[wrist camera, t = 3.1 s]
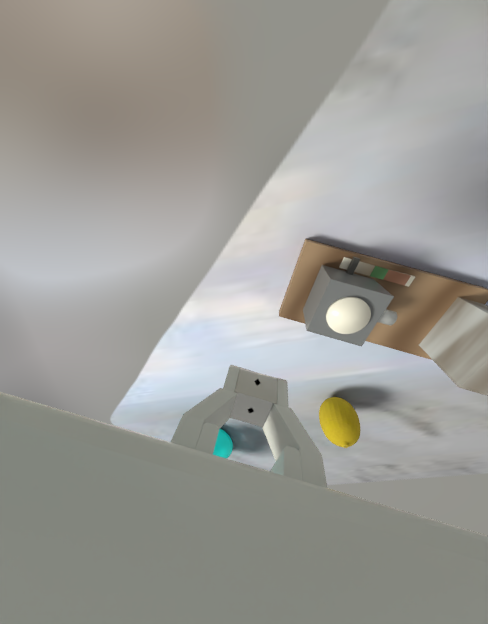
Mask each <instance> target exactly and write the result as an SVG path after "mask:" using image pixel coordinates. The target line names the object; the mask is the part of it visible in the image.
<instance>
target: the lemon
mask: <svg viewBox="0 0 488 624" xmlns="http://www.w3.org/2000/svg"><path fill="white" fill-rule="evenodd" d="M319 419H320V424H321V427H322V430H323V432H324V434H325V435H326V437H327V438H328V439H329V440H330V441H331V442H332V443H334V444H335V445H337V446H340V447H344V448H347V447H350V446H352V445H354V444H355V443H356V442H357V440H358V439H359V436H360V423H359V418H358V415H357V413H356V411H355V410H354V408H353V407H352V405H351V404H350V403H348V402H347V401H346V400H344V399H342V398H338V397H331V398H328V399H326V400H325V401H324V402H323V403H322V405H321V407H320V410H319Z"/></svg>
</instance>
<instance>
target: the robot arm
mask: <svg viewBox="0 0 488 624" xmlns="http://www.w3.org/2000/svg"><path fill="white" fill-rule="evenodd" d="M229 418H232V419H236V420H240V421H244V422H248V423H251V424H254V425H257V426H260V427H263V430H264V433H265V435H266V438H267V440H268V443H269V445H270V448H271V450H272V453H273V455H274V458H275V460H276V462H275V464H274V466H273V467H272V469H271V471H267V470H263V469H260V468H256V467H253V466H250V465H246V464H243V463H240V462H236V461H233V460H229V459H226V458H223V457H219V456H216V455H213V452H214V448H215V444H216V440H217V436H218V432H219V429H220V428H221V427H222V426H223V425H224V424H225V423H226V422H227V421H228V420H229ZM0 624H488V536H487V535H484V534H481V533H477V532H474V531H470V530H467V529H464V528H460V527H457V526H453V525H450V524H447V523H443V522H440V521H437V520H433V519H430V518H426V517H423V516H419V515H416V514H413V513H409V512H405V511H403V510H399V509H396V508H392V507H389V506H386V505H382V504H379V503H375V502H372V501H368V500H365V499H362V498H358V497H355V496H351V495H348V494H345V493H341V492H338V491H335V490H331V489H328V488H327V483H326V477H325V471H324V465H323V459H322V455H321V453H320V452H319V450H318V448H317V447H316V445H315V444H314V442H313V441H312V439H311V438H310V436H309V435H308V433H307V432H306V430H305V429H304V427H303V426H302V424H301V423H300V421H299V419H298V418H297V416H296V415H295V413H294V412H293V410H292V409H291V408H288V387H287V381H286V380H283V379H279V378H275V377H272V376H268V375H264V374H261V373H257V372H254V371H250V370H247V369H244V368H241V367H237V366H234V365H230V367H229V371H228V374H227V377H226V381H225V384H224V387H223V389H222V388H220V389H218V390H217V391H215V392H214V393H213V394H211V395H210V396H208V397H207V398H206V399H204V400H203V401H201V402H200V403H199V404H197V405H196V406H194V407H193V408H192V409H190V410H189V411H187V412H186V413H185V414H183V416H182V418H181V420H180V423H179V425H178V427H177V429H176V431H175V433H174V436H173V438H172V440H171V442H168V441H165V440H161V439H158V438H155V437H151V436H148V435H145V434H141V433H138V432H134V431H131V430H128V429H124V428H121V427H117V426H114V425H111V424H107V423H104V422H100V421H97V420H93V419H90V418H87V417H83V416H80V415H77V414H73V413H70V412H67V411H63V410H60V409H56V408H53V407H50V406H46V405H43V404H40V403H36V402H33V401H29V400H26V399H23V398H19V397H16V396H12V395H9V394H5V393H2V392H0Z"/></svg>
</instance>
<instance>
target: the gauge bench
mask: <svg viewBox="0 0 488 624" xmlns="http://www.w3.org/2000/svg"><path fill="white" fill-rule="evenodd" d="M353 256H354V257H357V258H360V261H359V263H358V265H357V267H356V269H355V271H354V273H353V274H357V275H360V276H364V277H368V278H371V279H374V280H375V281H376V282H377V283H379V284H380V285H381V286H382V287H383V288H384V289H386V290H387V291H388V292H389V293H390V294H391V295H393V296H394V297H393V299H392V300H391V302H390V303H389V305H388V307H387V308H386V309H388V310H391V311H395V312H396V313H397V320H396V322H395V323H394V324H393V325H386V324H383V323H379V322H377V324H376V325H375V327H374V328H373V330H372V331H371V333H370V334H369V336H368V337H367V339H366V340H365V341H368V342H372V343H375V344H379V345H382V346H386V347H389V348H393V349H396V350H400V351H403V352H407V353H410V354H414V355H417V356H421V357H424V358H428V359H431V360H433V361H434V362H435V363H436V364H437V365H438V366H439V367H440V368H441V369H442V370H443V371H444V372H445V373H446V375H447V376H448V377H449V378H450V379H451V380H452V381H453V382H454V383H455V384H456V385H457V386H458V387H459V388H463V389H466V390H470V391H473V392H477V393H480V394H484V395H487V396H488V306H487V305H485V303H486V302H487V301H488V289H486V288H484V287H481V286H477V285H473V284H470V283H466V282H462V281H459V280H455V279H451V278H448V277H444V276H440V275H437V274H433V273H429V272H426V271H422V270H418V269H415V268H411V267H407V266H404V265H400V264H396V263H393V262H389V261H385V260H382V259H378V258H374V257H370V256H367V255H363V254H359V253H356V252H352V251H348V250H345V249H341V248H337V247H334V246H330V245H326V244H323V243H319V242H315V241H312V240H308V239H305V242H304V244H303V247H302V250H301V253H300V255H299V258H298V261H297V264H296V266H295V269H294V272H293V275H292V277H291V280H290V283H289V286H288V288H287V291H286V294H285V297H284V299H283V302H282V305H281V308H280V310H279V316H280V317H284V318H287V319H291V320H294V321H298V322H301V323H305V318H304V313H303V308H304V306H305V303H306V301H307V299H308V296H309V294H310V292H311V289H312V287H313V285H314V282H315V280H316V278H317V275H318V273H319V270H320V268H321V266H322V265H324V266H328V267H331V268H335V269H339V270H342V271H346V270H347V268H348V266H349V264H350V262H351V260H352V258H353Z"/></svg>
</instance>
